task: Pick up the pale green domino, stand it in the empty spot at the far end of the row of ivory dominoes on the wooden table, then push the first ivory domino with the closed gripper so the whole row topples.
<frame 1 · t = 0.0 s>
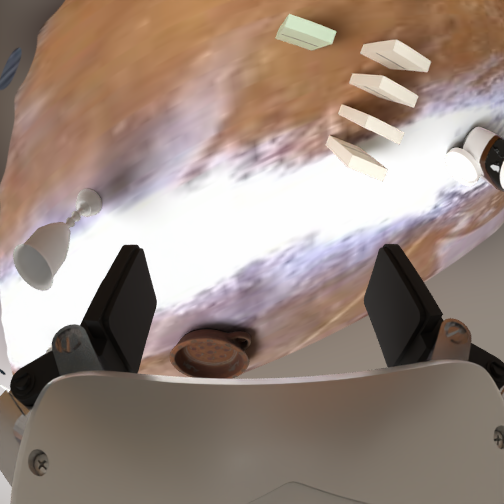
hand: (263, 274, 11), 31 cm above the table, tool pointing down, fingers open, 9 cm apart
green domino: (295, 39, 29), on the table
domino 2: (366, 85, 33), on the table
dish: (210, 345, 64), on the table
domino 3: (355, 115, 35), on the table
chalice: (89, 201, 42), on the table
domino 4: (342, 146, 38), on the table
domino 1: (377, 56, 30), on the table
spread jar: (467, 153, 37), on the table
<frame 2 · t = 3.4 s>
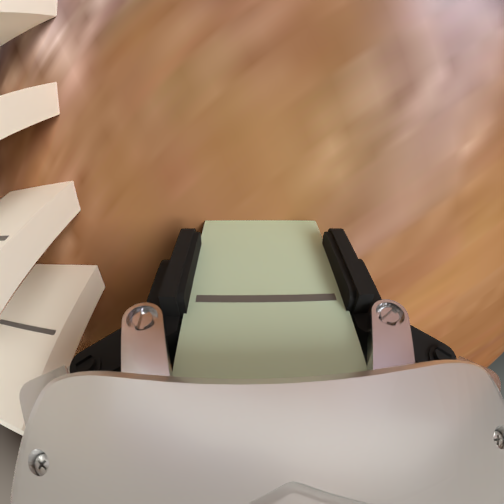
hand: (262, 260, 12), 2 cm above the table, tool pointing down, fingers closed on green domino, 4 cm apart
green domino: (260, 235, 13), on the table, touching gripper
domino 2: (41, 200, 12), on the table
domino 3: (22, 111, 9), on the table
domino 4: (19, 21, 6), on the table
domino 1: (68, 275, 15), on the table
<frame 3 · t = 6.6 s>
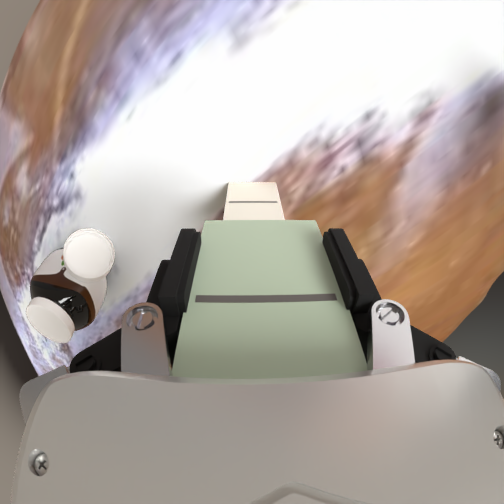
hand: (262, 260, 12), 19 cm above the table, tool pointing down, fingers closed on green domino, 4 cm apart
green domino: (260, 235, 13), point 18 cm above the table, touching gripper
domino 4: (252, 188, 31), on the table
spread jar: (86, 256, 36), on the table
when the fingers open (3 cm above the table, at t = 10.1 s): green domino stays where it is, on the table.
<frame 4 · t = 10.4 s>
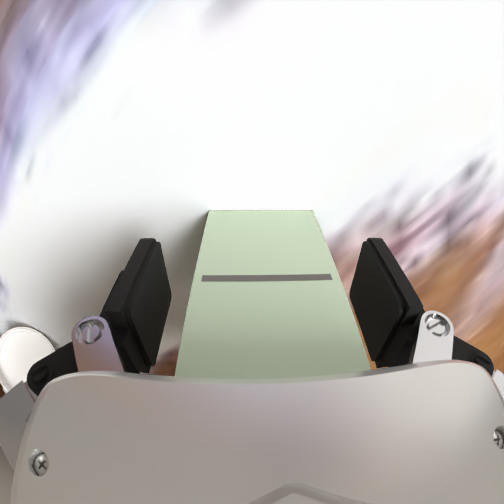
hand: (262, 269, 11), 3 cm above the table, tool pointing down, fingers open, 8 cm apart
green domino: (261, 224, 14), on the table
spread jar: (33, 348, 22), on the table
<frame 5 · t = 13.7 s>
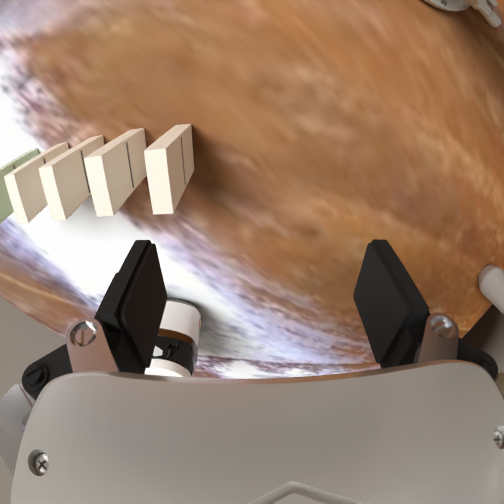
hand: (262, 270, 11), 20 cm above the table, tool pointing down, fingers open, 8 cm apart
green domino: (37, 167, 27), on the table
domino 2: (139, 151, 27), on the table
domino 3: (100, 157, 27), on the table
domino 4: (66, 162, 27), on the table
domino 1: (185, 147, 28), on the table
spread jar: (165, 308, 41), on the table
salt shaker: (485, 272, 39), on the table
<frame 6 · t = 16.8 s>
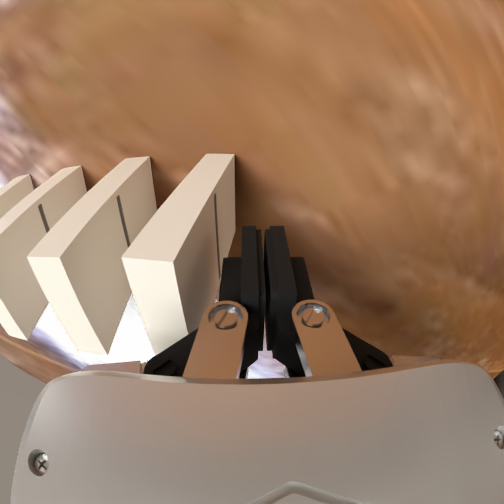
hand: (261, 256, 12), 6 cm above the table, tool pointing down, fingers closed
domino 2: (143, 194, 17), on the table
domino 3: (79, 200, 17), on the table
domino 4: (31, 205, 17), on the table
domino 1: (221, 193, 17), on the table, tilted 7°, touching gripper
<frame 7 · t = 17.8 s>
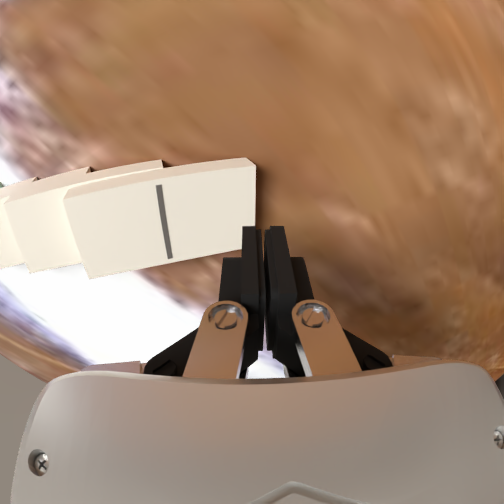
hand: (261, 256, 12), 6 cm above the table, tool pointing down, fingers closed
domino 2: (166, 203, 16), point 1 cm above the table, tilted 71°, touching domino 1, domino 3
domino 3: (95, 206, 16), point 1 cm above the table, tilted 71°, touching domino 2
domino 1: (250, 202, 16), point 1 cm above the table, tilted 71°, touching domino 2
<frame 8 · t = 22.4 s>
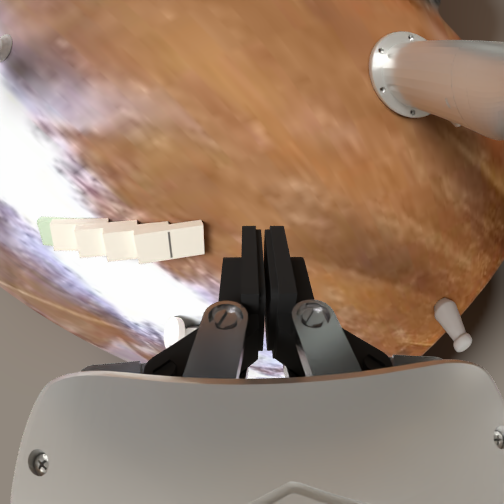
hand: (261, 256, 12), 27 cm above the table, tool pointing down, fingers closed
green domino: (85, 233, 42), point 1 cm above the table, tilted 89°
domino 2: (169, 238, 42), point 1 cm above the table, tilted 71°, touching domino 1, domino 3
domino 3: (137, 236, 42), point 1 cm above the table, tilted 71°, touching domino 2, domino 4
chalice: (3, 48, 22), on the table
domino 4: (108, 234, 42), point 1 cm above the table, tilted 74°, touching domino 3
domino 1: (202, 237, 42), point 1 cm above the table, tilted 71°, touching domino 2
spread jar: (193, 331, 56), on the table
salt shaker: (440, 303, 54), on the table
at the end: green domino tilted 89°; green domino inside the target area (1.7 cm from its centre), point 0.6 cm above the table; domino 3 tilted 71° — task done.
